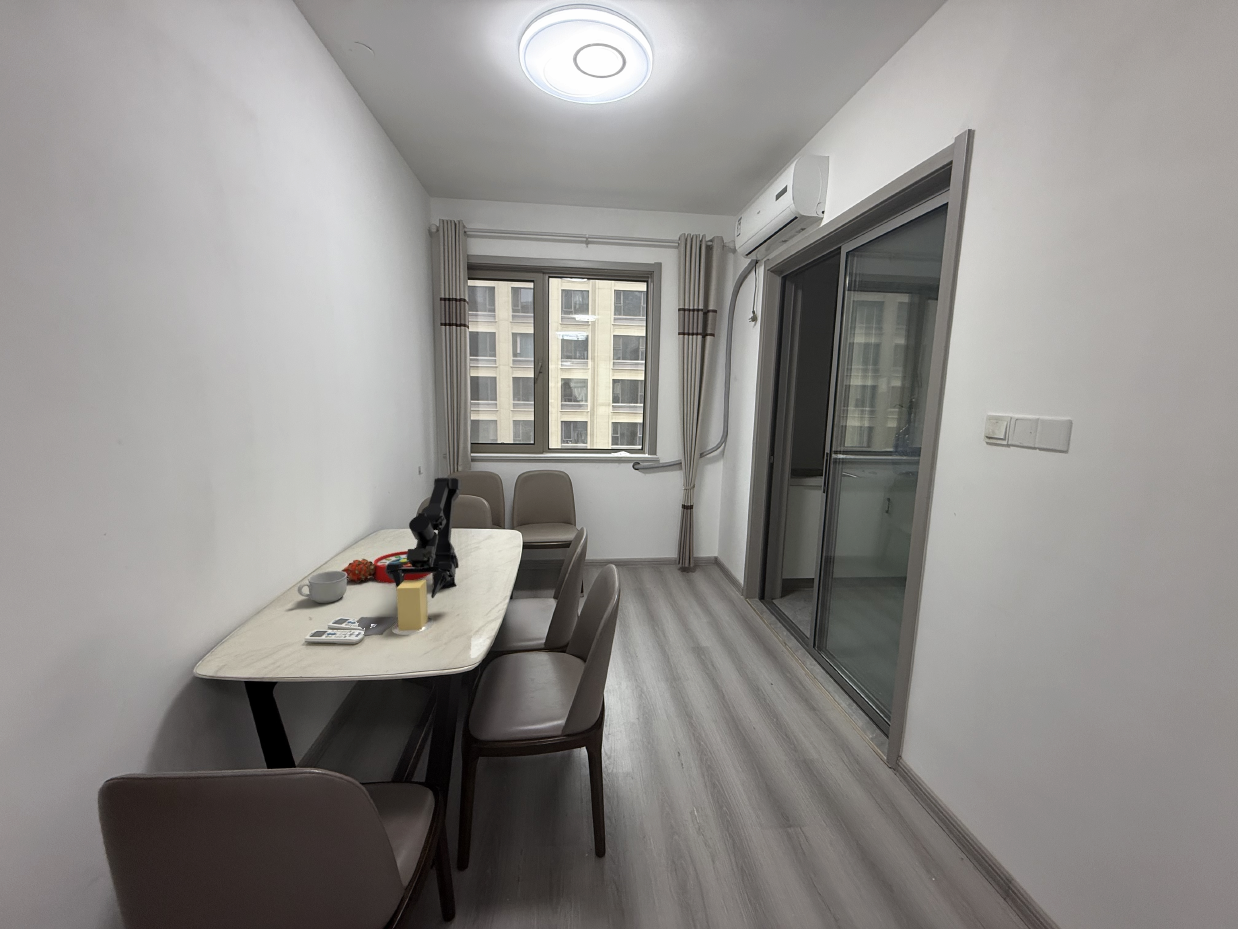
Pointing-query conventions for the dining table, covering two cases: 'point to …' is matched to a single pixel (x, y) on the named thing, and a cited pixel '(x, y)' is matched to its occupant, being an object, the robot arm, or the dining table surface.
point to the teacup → (325, 586)
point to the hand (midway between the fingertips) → (415, 598)
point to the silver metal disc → (408, 632)
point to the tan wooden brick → (412, 605)
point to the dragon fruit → (359, 570)
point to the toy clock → (394, 558)
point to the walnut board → (380, 628)
